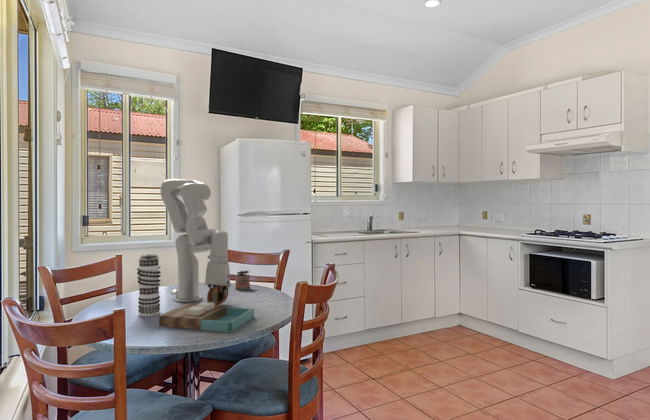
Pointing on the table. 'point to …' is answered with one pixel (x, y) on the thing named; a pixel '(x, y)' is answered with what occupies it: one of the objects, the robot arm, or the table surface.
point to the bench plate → (190, 317)
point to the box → (229, 320)
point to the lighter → (242, 280)
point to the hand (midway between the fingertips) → (217, 299)
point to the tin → (216, 295)
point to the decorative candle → (148, 285)
